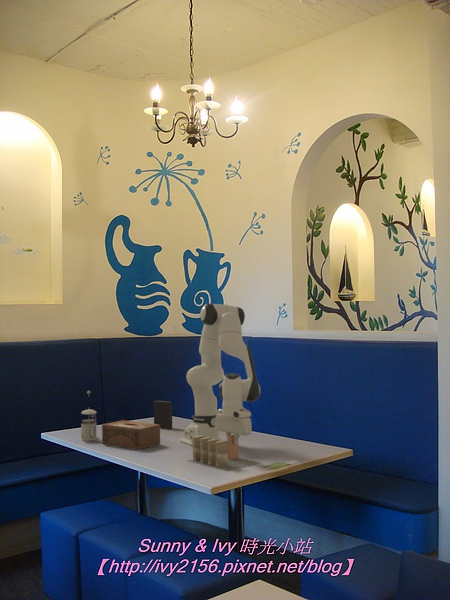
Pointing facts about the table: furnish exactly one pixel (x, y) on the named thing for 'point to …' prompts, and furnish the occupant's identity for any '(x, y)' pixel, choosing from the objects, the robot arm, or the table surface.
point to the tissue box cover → (131, 434)
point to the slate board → (230, 464)
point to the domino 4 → (221, 453)
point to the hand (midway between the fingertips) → (232, 443)
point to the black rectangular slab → (163, 413)
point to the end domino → (232, 448)
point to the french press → (88, 426)
